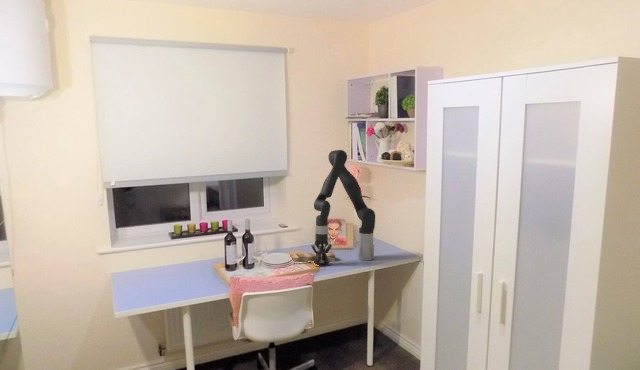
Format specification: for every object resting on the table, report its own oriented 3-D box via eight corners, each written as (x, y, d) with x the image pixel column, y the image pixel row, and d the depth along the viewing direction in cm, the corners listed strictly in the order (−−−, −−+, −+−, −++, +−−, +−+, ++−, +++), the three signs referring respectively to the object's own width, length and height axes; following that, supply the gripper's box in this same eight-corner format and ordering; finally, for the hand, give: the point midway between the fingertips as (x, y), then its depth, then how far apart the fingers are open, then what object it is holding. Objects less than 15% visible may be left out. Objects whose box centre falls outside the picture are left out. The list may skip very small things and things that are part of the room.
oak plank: (331, 257, 290) (331, 251, 290) (335, 261, 282) (335, 254, 282) (289, 260, 282) (289, 254, 282) (291, 264, 275) (291, 257, 274)
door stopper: (326, 263, 278) (327, 244, 277) (329, 265, 272) (329, 246, 271) (312, 264, 276) (313, 244, 274) (315, 266, 270) (315, 247, 269)
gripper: (330, 230, 277) (330, 257, 279) (309, 231, 273) (308, 259, 275) (334, 233, 270) (333, 261, 272) (312, 234, 266) (312, 262, 268)
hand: (321, 260), depth 274 cm, fingers closed on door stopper, 1 cm apart
